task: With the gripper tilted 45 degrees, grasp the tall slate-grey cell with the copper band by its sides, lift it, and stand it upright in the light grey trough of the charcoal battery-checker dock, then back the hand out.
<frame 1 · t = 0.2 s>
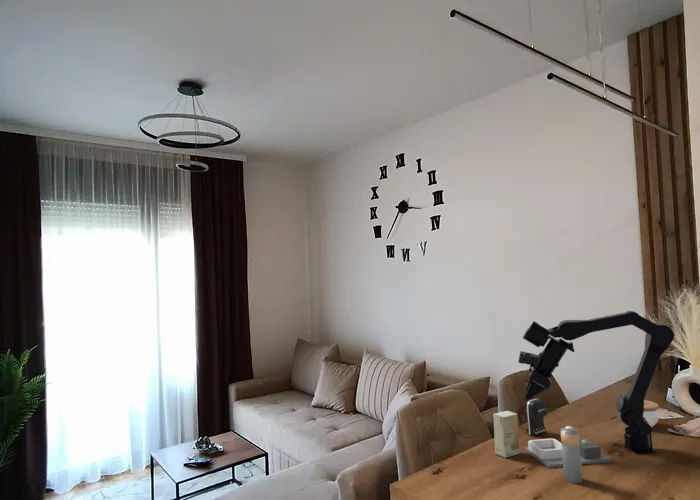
hand: (526, 395, 152), 15 cm above the table, tool tilted 35°, fingers open, 9 cm apart
battery charger: (538, 435, 157), on the table
lidded jar: (642, 426, 160), on the table
skincare box: (507, 454, 142), on the table
big cell: (573, 479, 123), on the table
checker dock: (566, 455, 139), on the table
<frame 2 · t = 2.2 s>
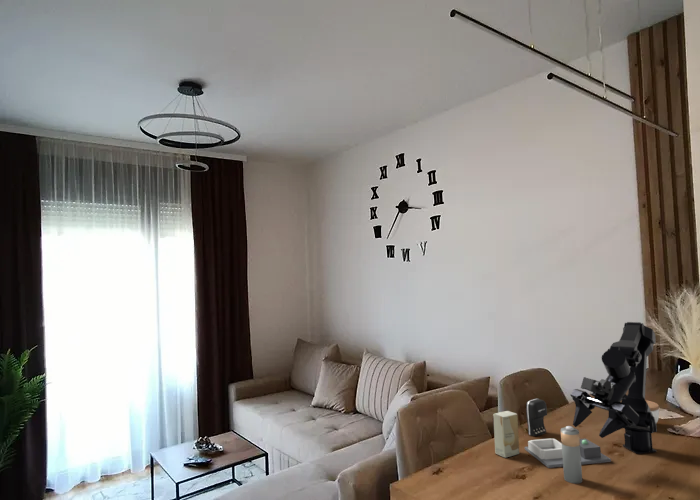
hand: (586, 431, 125), 12 cm above the table, tool tilted 45°, fingers open, 9 cm apart
nothing on the table moved.
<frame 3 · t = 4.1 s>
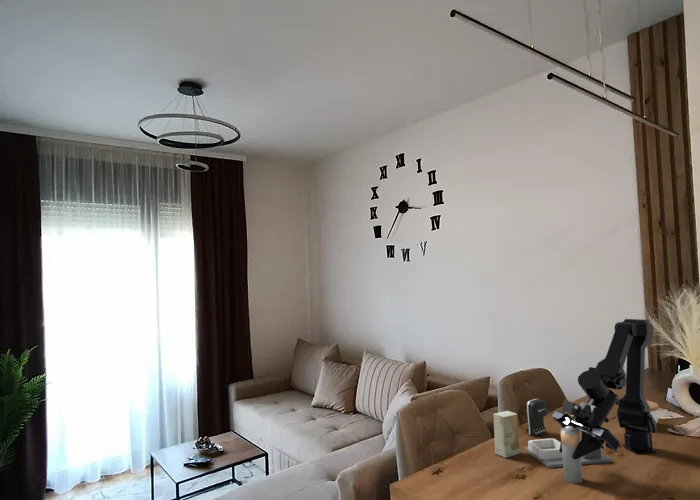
hand: (567, 455, 123), 7 cm above the table, tool tilted 45°, fingers closed on big cell, 4 cm apart
big cell: (573, 479, 123), on the table, touching gripper
everything else where it was.
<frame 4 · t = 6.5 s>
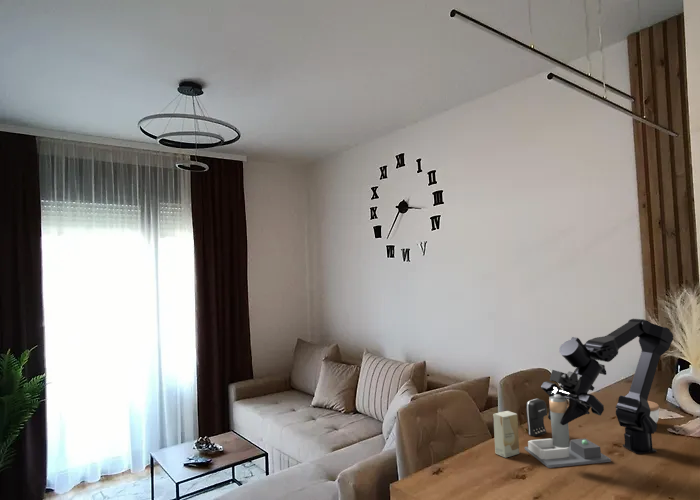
hand: (555, 421, 130), 13 cm above the table, tool tilted 45°, fingers closed on big cell, 4 cm apart
big cell: (561, 444, 130), point 7 cm above the table, touching gripper
everything else where it was.
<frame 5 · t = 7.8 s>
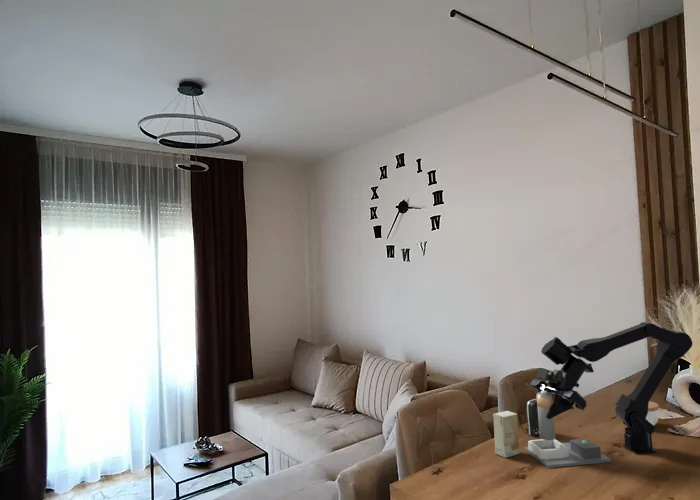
hand: (542, 416, 140), 12 cm above the table, tool tilted 45°, fingers closed on big cell, 4 cm apart
big cell: (547, 437, 140), point 5 cm above the table, touching gripper
everything else where it was.
when the fingers open (9 cm above the table, at t = 9.1 s): big cell drops 1 cm, resting on checker dock.
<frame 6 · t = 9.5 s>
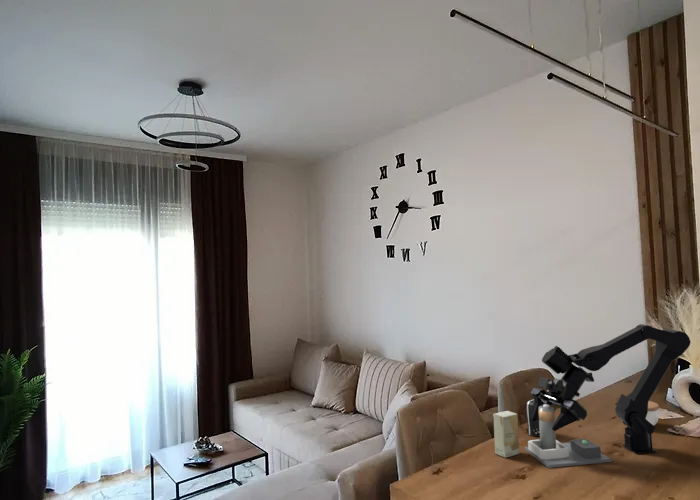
hand: (542, 425, 139), 9 cm above the table, tool tilted 45°, fingers open, 9 cm apart
big cell: (548, 451, 139), point 1 cm above the table, touching checker dock
everything else where it was.
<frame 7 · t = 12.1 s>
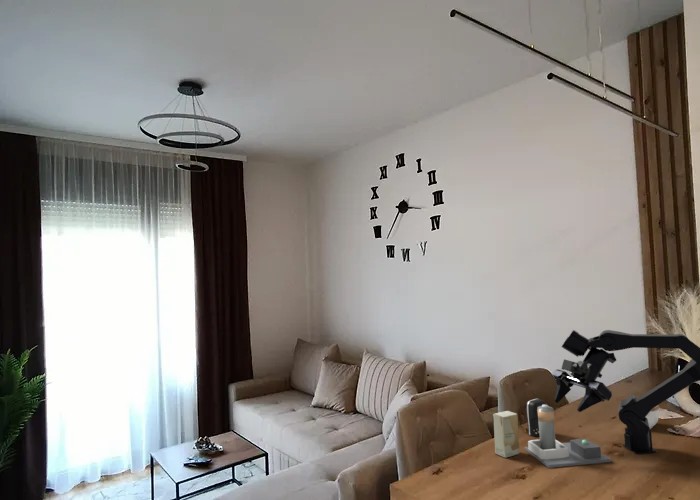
hand: (566, 406, 142), 14 cm above the table, tool tilted 45°, fingers open, 9 cm apart
nothing on the table moved.
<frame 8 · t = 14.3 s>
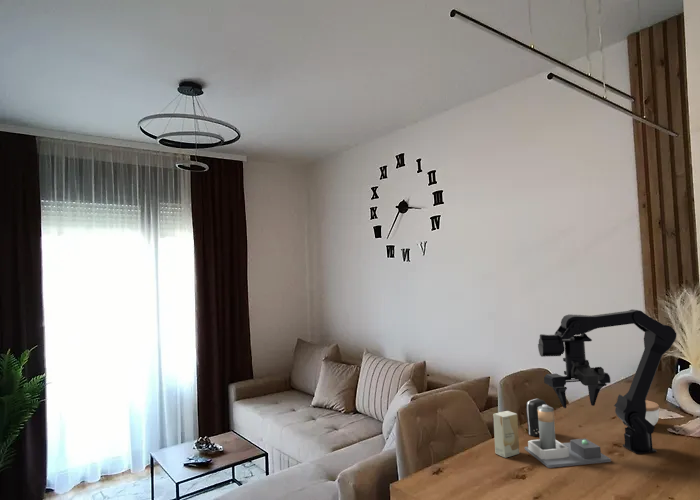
hand: (578, 406, 143), 13 cm above the table, tool pointing down, fingers open, 9 cm apart
nothing on the table moved.
at the end: big cell 0.0 cm from the target spot on the checker dock, point 1.1 cm above the checker dock's base; big cell tilted 0°; the gripper is holding nothing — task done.
